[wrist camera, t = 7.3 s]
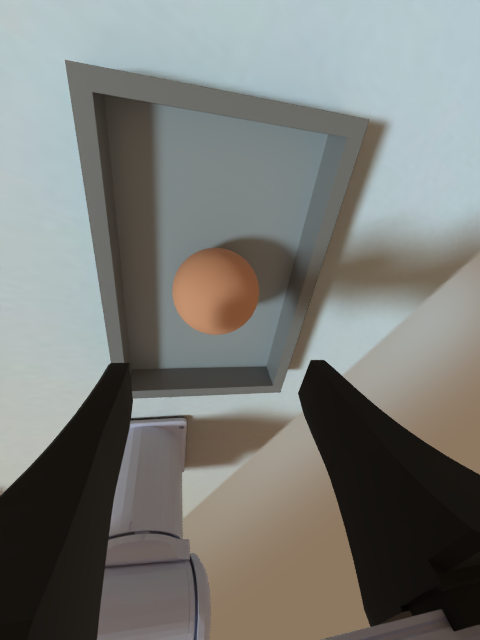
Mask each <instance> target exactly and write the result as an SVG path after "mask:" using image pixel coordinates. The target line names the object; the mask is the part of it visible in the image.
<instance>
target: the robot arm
mask: <svg viewBox="0 0 480 640" xmlns="http://www.w3.org/2000/svg"><path fill="white" fill-rule="evenodd" d="M298 394H299V398H300V402H301V406H302V409H303V413H304V416H305V419H306V421H307V423H308V426H309V428H310V430H311V433H312V435H313V438H314V440H315V443H316V445H317V447H318V450H319V452H320V454H321V456H322V459H323V461H324V464H325V466H326V469H327V471H328V474H329V476H330V479H331V483H332V486H333V489H334V492H335V495H336V498H337V502H338V505H339V508H340V512H341V515H342V519H343V522H344V525H345V529H346V533H347V537H348V541H349V545H350V548H351V553H352V556H353V560H354V564H355V569H356V574H357V578H358V582H359V587H360V591H361V596H362V600H363V606H364V610H365V613H366V615H367V618H368V621H369V624H370V626H371V627H369V628H365V629H361V630H357V631H353V632H350V633H345V634H341V635H337V636H334V637H330V638H326V639H322V640H480V475H479V474H477V473H475V472H473V471H472V470H470V469H468V468H466V467H465V466H463V465H461V464H459V463H458V462H456V461H454V460H453V459H451V458H449V457H447V456H446V455H444V454H443V453H441V452H440V451H438V450H436V449H435V448H433V447H432V446H430V445H428V444H427V443H425V442H424V441H422V440H421V439H419V438H418V437H416V436H415V435H414V434H412V433H411V432H409V431H408V430H407V429H405V428H404V427H402V426H401V425H400V424H398V423H397V422H396V421H394V420H393V419H392V418H390V417H389V416H388V415H387V414H385V413H384V412H383V411H382V410H381V409H379V408H378V407H377V406H376V405H374V404H373V403H372V402H371V401H370V400H368V399H367V398H366V397H365V396H364V395H363V394H361V393H360V392H359V391H358V390H357V389H356V388H355V387H354V386H353V385H351V384H350V383H349V382H348V381H347V380H346V379H345V378H344V377H343V376H342V375H340V374H339V373H338V372H337V371H336V370H335V369H334V368H333V367H332V366H330V365H329V364H328V363H327V362H326V361H325V360H311V361H310V364H309V366H308V369H307V371H306V374H305V377H304V379H303V382H302V385H301V387H300V390H299V392H298ZM132 403H133V397H132V386H131V376H130V366H129V363H111V364H109V365H108V367H107V368H106V370H105V372H104V373H103V375H102V377H101V378H100V380H99V381H98V383H97V384H96V386H95V387H94V389H93V390H92V392H91V393H90V395H89V396H88V397H87V399H86V400H85V401H84V403H83V404H82V406H81V407H80V408H79V410H78V411H77V412H76V414H75V415H74V416H73V417H72V419H71V420H70V421H69V422H68V424H67V425H66V426H65V427H64V429H63V430H62V431H61V432H60V433H59V435H58V436H57V437H56V438H55V439H54V441H53V442H52V443H51V444H50V445H49V446H48V447H47V449H46V450H45V451H44V452H43V453H42V454H41V455H40V456H39V457H38V458H37V459H36V460H35V462H34V463H33V464H32V465H31V466H30V467H29V468H28V469H27V470H26V471H25V472H24V473H23V474H22V475H21V476H20V477H19V478H18V479H17V480H16V481H15V482H14V483H13V484H12V485H11V486H10V487H9V488H8V489H7V490H6V491H5V492H4V493H3V494H2V495H1V496H0V640H209V637H210V623H211V605H210V590H209V583H208V578H207V574H206V570H205V568H204V566H203V564H202V563H201V562H200V559H199V557H198V556H197V555H196V554H195V553H190V545H189V540H188V539H183V538H182V537H183V535H182V534H183V532H182V472H184V464H185V447H186V431H187V420H186V419H185V418H168V419H151V420H134V421H131V413H132Z"/></svg>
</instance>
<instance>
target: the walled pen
mask: <svg viewBox="0 0 480 640" xmlns="http://www.w3.org/2000/svg"><path fill="white" fill-rule="evenodd" d="M65 63H66V70H67V77H68V83H69V90H70V96H71V103H72V109H73V116H74V123H75V129H76V136H77V142H78V149H79V155H80V162H81V169H82V175H83V182H84V188H85V195H86V201H87V208H88V214H89V221H90V228H91V234H92V241H93V247H94V254H95V260H96V267H97V274H98V280H99V287H100V293H101V300H102V306H103V313H104V320H105V326H106V333H107V339H108V346H109V352H110V359H111V363H129V366H130V376H131V386H132V397H133V398H156V397H180V396H203V395H227V394H251V393H274V392H281V389H282V385H283V382H284V379H285V376H286V373H287V370H288V367H289V364H290V361H291V358H292V355H293V352H294V349H295V346H296V343H297V340H298V336H299V333H300V330H301V327H302V324H303V321H304V318H305V315H306V312H307V309H308V306H309V303H310V300H311V297H312V294H313V291H314V287H315V284H316V281H317V278H318V275H319V272H320V269H321V266H322V263H323V260H324V257H325V254H326V251H327V248H328V245H329V242H330V238H331V235H332V232H333V229H334V226H335V223H336V220H337V217H338V214H339V211H340V208H341V205H342V202H343V199H344V196H345V192H346V189H347V186H348V183H349V180H350V177H351V174H352V171H353V168H354V165H355V162H356V159H357V156H358V153H359V150H360V147H361V143H362V140H363V137H364V134H365V131H366V128H367V125H368V122H369V119H364V118H359V117H354V116H349V115H344V114H339V113H334V112H328V111H323V110H318V109H313V108H308V107H303V106H298V105H293V104H288V103H283V102H277V101H272V100H267V99H262V98H257V97H252V96H247V95H242V94H237V93H231V92H226V91H221V90H216V89H211V88H206V87H201V86H196V85H191V84H186V83H180V82H175V81H170V80H165V79H160V78H155V77H150V76H145V75H140V74H135V73H129V72H124V71H119V70H114V69H109V68H104V67H99V66H94V65H89V64H84V63H78V62H73V61H68V60H65ZM207 248H223V249H227V250H230V251H233V252H235V253H237V254H239V255H240V256H241V257H243V258H244V259H245V260H246V261H247V262H248V263H249V264H250V266H251V267H252V268H253V270H254V272H255V274H256V277H257V280H258V284H259V299H258V304H257V307H256V309H255V311H254V313H253V315H252V316H251V318H250V319H249V320H248V321H247V322H246V323H245V324H244V325H243V326H242V327H240V328H239V329H237V330H235V331H233V332H230V333H227V334H221V335H211V334H206V333H202V332H200V331H197V330H195V329H194V328H192V327H191V326H189V325H188V324H187V323H186V322H185V321H184V320H183V319H182V318H181V316H180V315H179V313H178V312H177V310H176V307H175V305H174V301H173V294H172V288H173V281H174V277H175V275H176V272H177V270H178V269H179V267H180V266H181V264H182V263H183V262H184V261H185V260H186V259H187V258H188V257H190V256H191V255H192V254H194V253H196V252H198V251H200V250H203V249H207Z"/></svg>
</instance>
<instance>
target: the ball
mask: <svg viewBox="0 0 480 640" xmlns="http://www.w3.org/2000/svg"><path fill="white" fill-rule="evenodd" d="M172 294H173V301H174V305H175V307H176V310H177V312H178V313H179V315H180V316H181V318H182V319H183V320H184V321H185V322H186V323H187V324H188V325H189V326H191V327H192V328H194V329H195V330H197V331H200V332H202V333H206V334H211V335H221V334H227V333H230V332H233V331H235V330H237V329H239V328H240V327H242V326H243V325H244V324H245V323H246V322H247V321H248V320H249V319H250V318H251V316H252V315H253V313H254V311H255V309H256V307H257V304H258V299H259V284H258V280H257V277H256V274H255V272H254V270H253V268H252V267H251V266H250V264H249V263H248V262H247V261H246V260H245V259H244V258H243V257H241V256H240V255H239V254H237V253H235V252H233V251H230V250H227V249H223V248H207V249H203V250H200V251H198V252H196V253H194V254H192V255H191V256H190V257H188V258H187V259H186V260H185V261H184V262H183V263H182V264H181V266H180V267H179V269H178V270H177V272H176V275H175V277H174V281H173V288H172Z"/></svg>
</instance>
